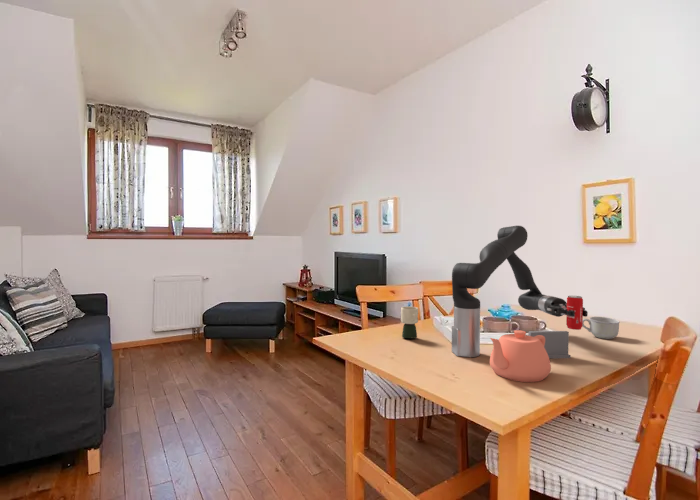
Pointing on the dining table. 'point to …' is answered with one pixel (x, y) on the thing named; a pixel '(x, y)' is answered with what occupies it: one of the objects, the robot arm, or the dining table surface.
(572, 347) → the dining table surface
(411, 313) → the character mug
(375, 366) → the dining table surface
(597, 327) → the teacup
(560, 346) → the screen
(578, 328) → the beverage can
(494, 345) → the teapot
